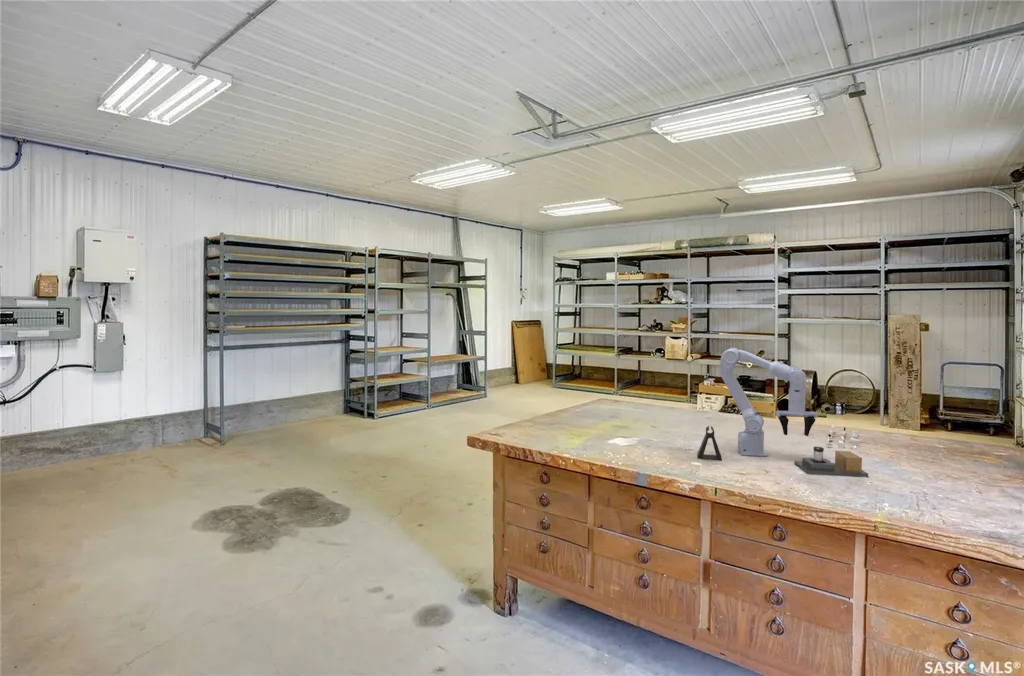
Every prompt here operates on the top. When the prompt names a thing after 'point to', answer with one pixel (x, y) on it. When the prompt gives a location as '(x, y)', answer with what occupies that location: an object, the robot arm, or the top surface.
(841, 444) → the miniature set
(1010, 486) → the top surface
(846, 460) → the square socket plate
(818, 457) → the shiny metal cylinder
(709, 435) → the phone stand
